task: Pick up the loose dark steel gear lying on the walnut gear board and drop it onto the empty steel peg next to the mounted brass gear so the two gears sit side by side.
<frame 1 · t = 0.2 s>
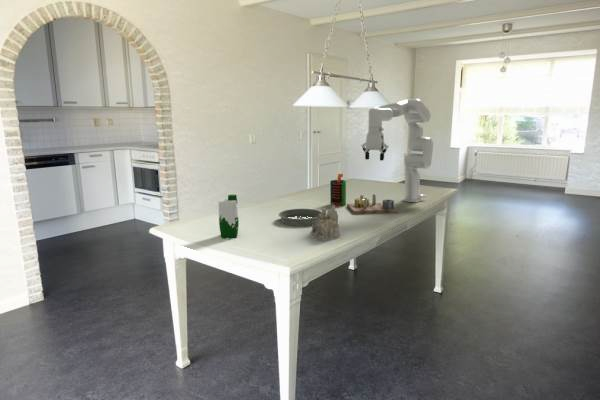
hand: (374, 159, 240), 31 cm above the table, tool pointing down, fingers open, 9 cm apart
cake pan: (301, 221, 226), on the table
brass gear: (361, 205, 253), resting on board
milk carton: (229, 236, 198), on the table
motor: (338, 205, 266), on the table
board: (371, 209, 250), on the table
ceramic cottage: (323, 236, 197), on the table
steel gear: (388, 207, 246), point 2 cm above the table, touching board
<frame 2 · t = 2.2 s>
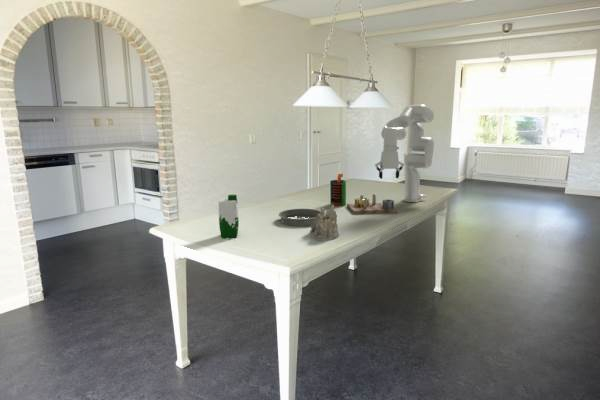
hand: (389, 178, 242), 20 cm above the table, tool pointing down, fingers open, 9 cm apart
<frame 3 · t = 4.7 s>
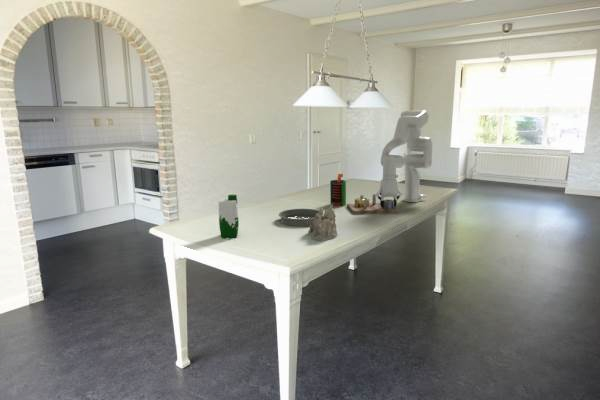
hand: (388, 206, 246), 3 cm above the table, tool pointing down, fingers closed on steel gear, 6 cm apart
steel gear: (388, 207, 246), point 2 cm above the table, touching board, gripper
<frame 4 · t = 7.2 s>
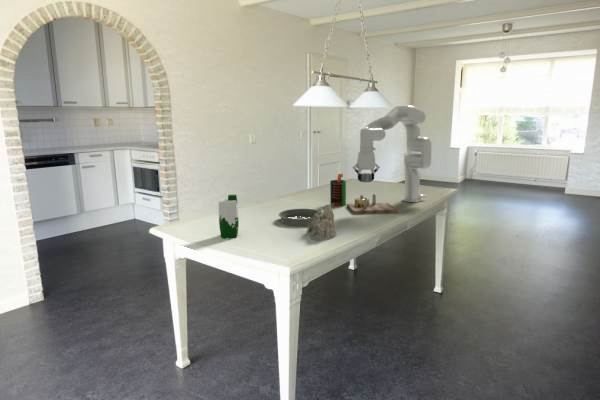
hand: (365, 180, 241), 19 cm above the table, tool pointing down, fingers closed on steel gear, 6 cm apart
steel gear: (365, 181, 241), point 18 cm above the table, touching gripper
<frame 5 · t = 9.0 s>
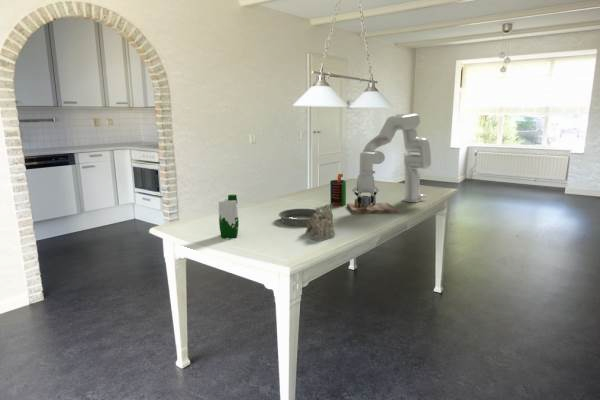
hand: (365, 202, 244), 6 cm above the table, tool pointing down, fingers closed on steel gear, 6 cm apart
steel gear: (365, 204, 244), point 5 cm above the table, touching gripper
when the fingers open (4 cm above the table, at t = 10.2 s): steel gear drops 1 cm, resting on board.
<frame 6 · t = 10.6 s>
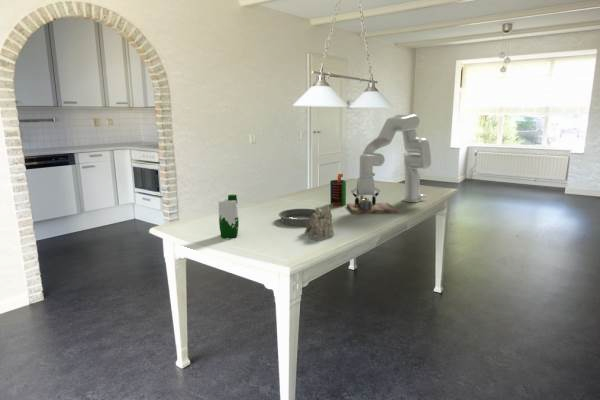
hand: (365, 204, 244), 5 cm above the table, tool pointing down, fingers open, 9 cm apart
steel gear: (365, 208, 244), point 2 cm above the table, touching board
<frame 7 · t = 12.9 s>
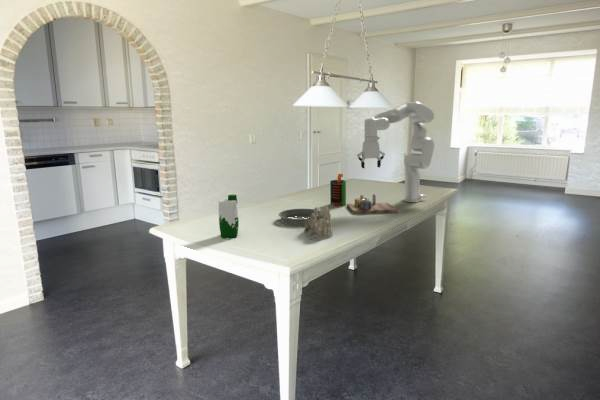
hand: (370, 167, 250), 25 cm above the table, tool pointing down, fingers open, 9 cm apart
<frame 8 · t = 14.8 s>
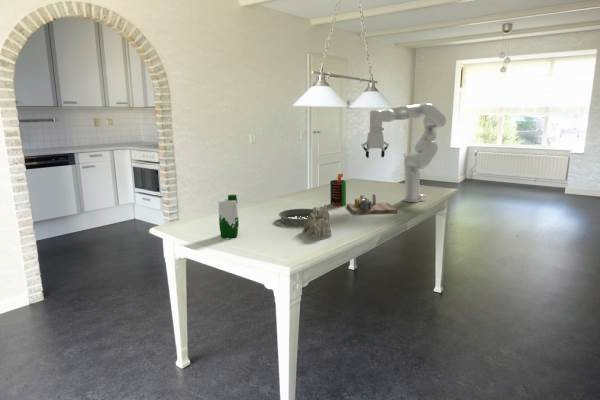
hand: (375, 157, 260), 30 cm above the table, tool pointing down, fingers open, 9 cm apart
at the end: steel gear 0.1 cm from the target spot on the board, point 2.0 cm above the board's base; the gripper is holding nothing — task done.
